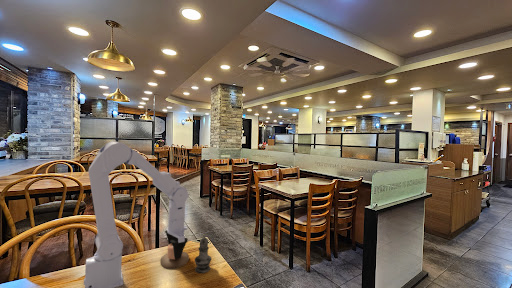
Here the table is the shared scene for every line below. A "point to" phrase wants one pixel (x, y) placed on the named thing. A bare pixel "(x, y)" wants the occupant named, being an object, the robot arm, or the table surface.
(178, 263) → the post stand
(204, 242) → the dark grey chess piece
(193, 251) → the table surface
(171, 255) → the cap
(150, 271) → the table surface
